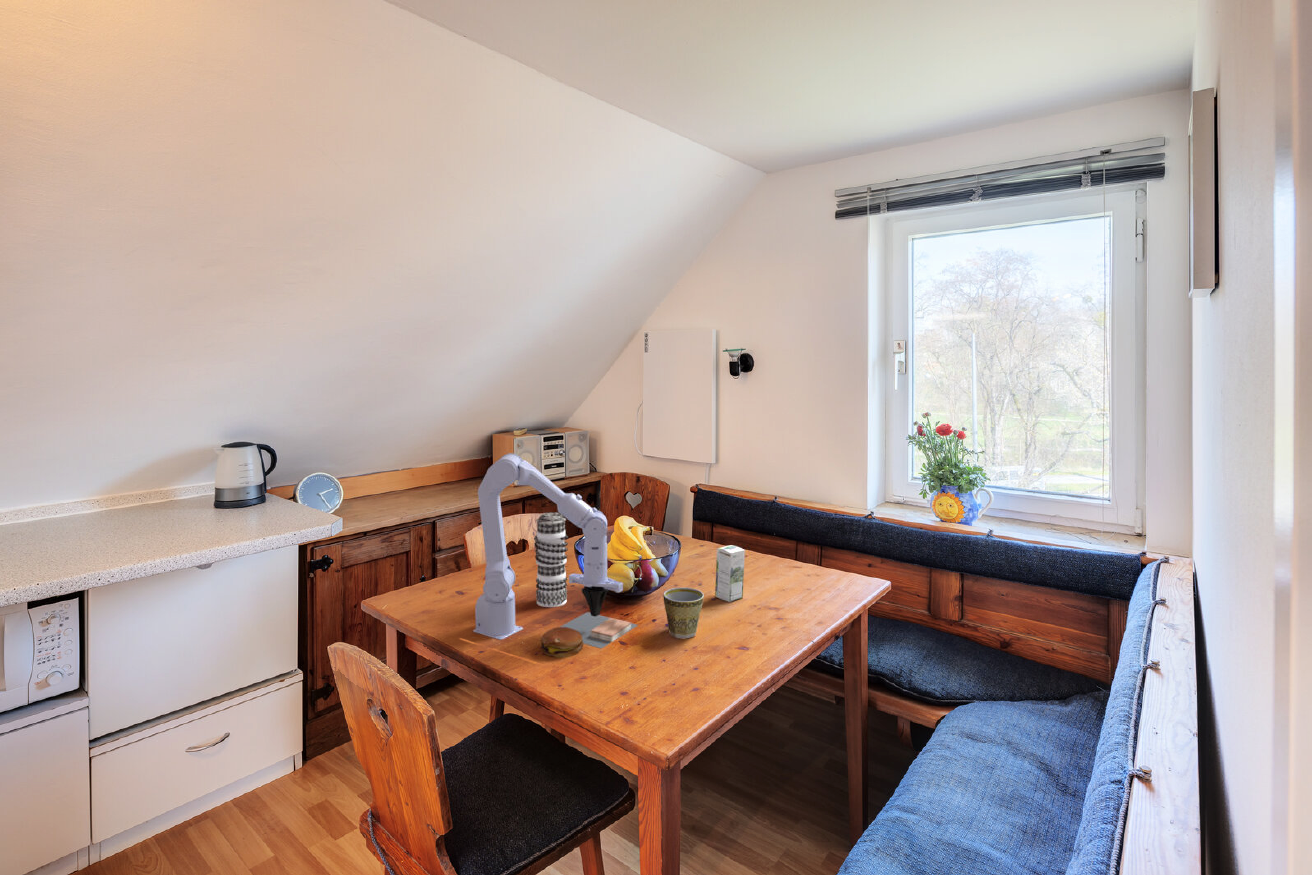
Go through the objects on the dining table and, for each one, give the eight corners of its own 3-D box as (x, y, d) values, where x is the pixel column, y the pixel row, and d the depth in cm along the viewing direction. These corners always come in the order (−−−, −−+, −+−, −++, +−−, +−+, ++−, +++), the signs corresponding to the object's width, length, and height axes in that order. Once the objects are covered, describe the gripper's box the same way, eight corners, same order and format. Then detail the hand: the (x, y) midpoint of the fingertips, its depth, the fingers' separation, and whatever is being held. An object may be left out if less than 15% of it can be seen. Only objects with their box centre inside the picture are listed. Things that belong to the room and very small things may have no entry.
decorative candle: (557, 594, 191) (556, 508, 188) (574, 603, 184) (574, 515, 181) (528, 601, 186) (527, 513, 182) (545, 611, 178) (544, 520, 175)
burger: (580, 640, 161) (580, 622, 160) (585, 657, 152) (585, 638, 151) (538, 644, 159) (538, 625, 158) (541, 662, 150) (541, 642, 149)
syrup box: (728, 592, 194) (729, 544, 192) (743, 598, 190) (745, 548, 188) (714, 596, 190) (715, 547, 189) (729, 602, 186) (731, 552, 184)
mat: (548, 634, 164) (548, 633, 164) (587, 613, 177) (587, 611, 177) (601, 650, 156) (601, 648, 156) (638, 626, 169) (638, 624, 169)
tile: (610, 617, 170) (631, 622, 167) (610, 623, 170) (630, 628, 167) (590, 630, 162) (612, 635, 159) (590, 636, 162) (612, 641, 159)
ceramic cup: (700, 643, 160) (700, 603, 159) (659, 639, 162) (659, 599, 160) (707, 622, 172) (707, 585, 171) (668, 618, 174) (669, 582, 173)
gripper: (561, 561, 164) (562, 614, 166) (612, 571, 157) (612, 626, 159) (577, 554, 170) (578, 605, 172) (627, 562, 163) (627, 616, 165)
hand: (595, 614), depth 166 cm, fingers closed
